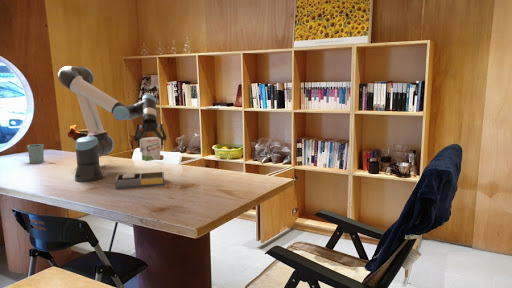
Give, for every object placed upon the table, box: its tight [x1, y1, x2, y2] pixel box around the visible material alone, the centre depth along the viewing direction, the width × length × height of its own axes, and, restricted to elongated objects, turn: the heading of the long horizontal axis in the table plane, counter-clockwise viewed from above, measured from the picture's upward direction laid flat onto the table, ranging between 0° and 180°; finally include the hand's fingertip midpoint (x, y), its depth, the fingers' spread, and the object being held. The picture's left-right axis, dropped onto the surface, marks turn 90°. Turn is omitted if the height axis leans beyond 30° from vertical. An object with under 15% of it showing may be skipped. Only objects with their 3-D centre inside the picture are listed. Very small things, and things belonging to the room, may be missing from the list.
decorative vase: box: [67, 124, 106, 170], centre depth 254 cm, size 21×23×28 cm
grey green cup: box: [26, 143, 45, 165], centre depth 271 cm, size 10×10×12 cm
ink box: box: [141, 136, 161, 162], centre depth 210 cm, size 8×5×12 cm, turn 135°
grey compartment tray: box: [114, 171, 165, 190], centre depth 210 cm, size 24×14×5 cm, turn 104°
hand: (150, 150), depth 208 cm, fingers closed on ink box, 9 cm apart
